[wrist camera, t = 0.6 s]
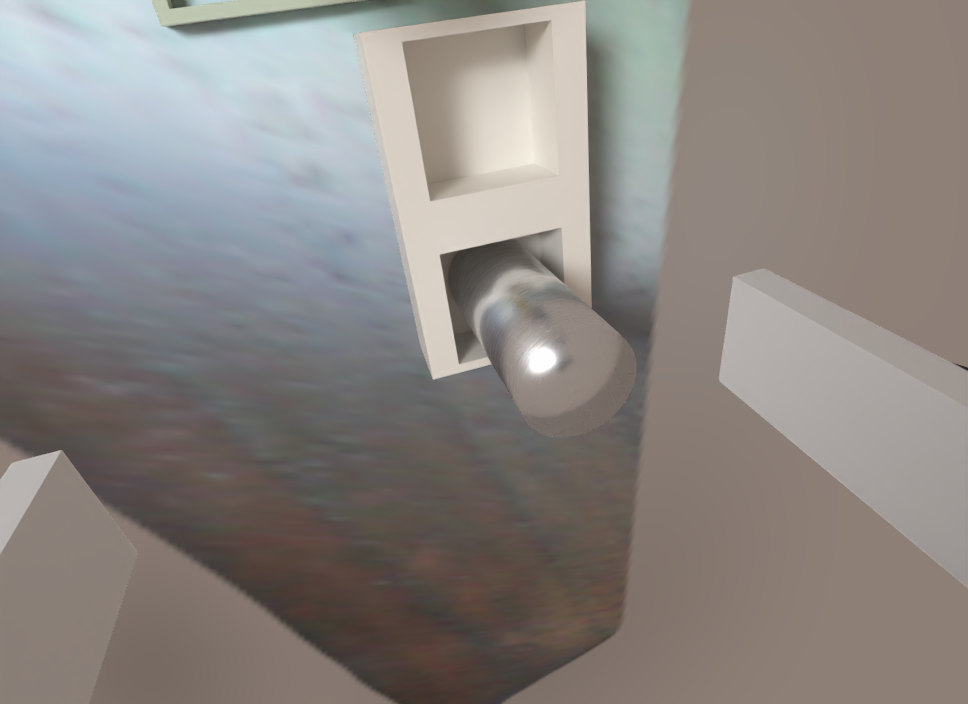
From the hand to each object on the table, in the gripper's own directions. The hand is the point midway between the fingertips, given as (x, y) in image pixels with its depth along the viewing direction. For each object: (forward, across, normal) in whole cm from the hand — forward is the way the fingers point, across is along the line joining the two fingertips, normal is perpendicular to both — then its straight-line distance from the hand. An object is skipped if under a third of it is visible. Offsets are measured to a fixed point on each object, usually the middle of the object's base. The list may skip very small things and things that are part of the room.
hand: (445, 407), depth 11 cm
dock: (+24, +7, -3) cm, 25 cm away
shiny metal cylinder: (+23, +7, -8) cm, 26 cm away
